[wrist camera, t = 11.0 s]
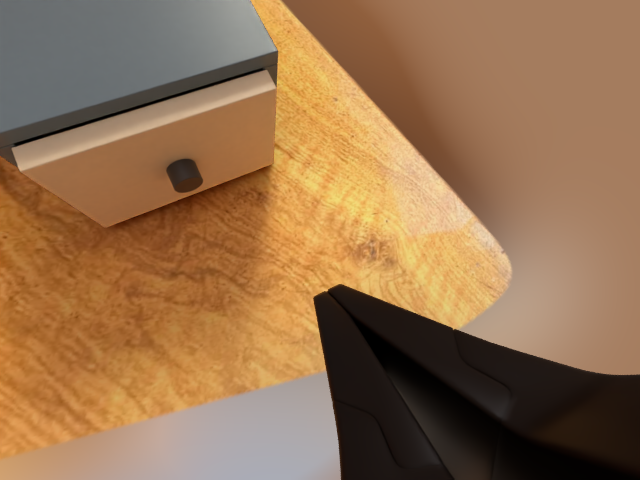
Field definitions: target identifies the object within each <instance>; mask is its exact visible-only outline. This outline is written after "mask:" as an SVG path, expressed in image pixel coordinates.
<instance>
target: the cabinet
mask: <svg viewBox="0 0 640 480" xmlns="http://www.w3.org/2000/svg"><path fill="white" fill-rule="evenodd" d="M277 63H278V50H277V48H276V46H275V45H274V43H273V41H272V39H271V37H270V35H269V34H268V32H267V30H266V28H265V26H264V24H263V23H262V21H261V19H260V17H259V15H258V14H257V12H256V10H255V8H254V6H253V4H252V3H251V1H250V0H0V156H1V157H3V158H4V159H6V160H7V161H9V162H10V163H12V164H13V165H15V166H16V167H18V165H17V163H16V160H15V157H14V154H13V152H12V147H16V146H19V145H22V144H25V143H29V142H32V141H35V140H38V139H42V138H44V137H43V136H42V135H43V134H46V133H50V132H53V131H56V130H60V129H63V128H66V127H69V126H73V125H76V124H79V123H83V122H86V121H89V120H92V119H96V118H99V117H102V116H106V115H109V114H112V113H115V112H119V111H122V110H125V109H129V108H132V107H135V106H138V105H142V104H145V103H148V102H152V101H155V100H158V99H161V98H165V97H168V96H171V95H175V94H178V93H181V92H184V91H188V90H191V89H194V88H198V87H201V86H204V85H207V84H211V83H214V82H217V81H221V80H224V79H227V78H230V77H234V76H237V75H240V74H244V76H247V75H250V74H254V73H257V72H260V71H263V70H267V71H268V73H269V75H270V77H271V79H272V80H273V82H274V84H275V86H276V87H277Z"/></svg>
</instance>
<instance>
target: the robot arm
mask: <svg viewBox="0 0 640 480" xmlns="http://www.w3.org/2000/svg"><path fill="white" fill-rule="evenodd" d="M313 299H314V305H315V311H316V316H317V321H318V327H319V332H320V338H321V343H322V349H323V354H324V360H325V365H326V370H327V376H328V381H329V387H330V392H331V398H332V401H333V409H334V414H335V421H336V427H337V434H338V441H339V454H340V468H341V480H640V375H609V374H601V373H595V372H590V371H585V370H581V369H577V368H574V367H570V366H567V365H564V364H560V363H557V362H553V361H550V360H546V359H543V358H540V357H536V356H533V355H529V354H526V353H523V352H519V351H516V350H513V349H509V348H507V347H504V346H500V345H497V344H494V343H491V342H488V341H486V340H483V339H480V338H477V337H475V336H472V335H469V334H467V333H464V332H461V331H459V330H457V329H454V330H453V328H451V327H449V326H446V325H444V324H441V323H438V322H436V321H433V320H431V319H428V318H426V317H423V316H421V315H418V314H416V313H413V312H411V311H408V310H405V309H403V308H400V307H398V306H395V305H393V304H390V303H388V302H385V301H383V300H380V299H378V298H375V297H373V296H370V295H367V294H365V293H362V292H360V291H357V290H355V289H352V288H350V287H347V286H345V285H342V284H338V285H336V286H334V287H332V288H330V289H329V290H328V291H327V292H326V291H324V292H322V293H320V294H318V295H316V296H315V297H314V298H313Z"/></svg>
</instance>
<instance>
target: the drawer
mask: <svg viewBox="0 0 640 480" xmlns="http://www.w3.org/2000/svg"><path fill="white" fill-rule="evenodd" d="M276 94H277V88H276V86H275V84H274V82H273V80H272V79H271V77H270V75H269V73H268V71H267V70H263V71H260V72H257V73H254V74H250V75H247V76H244V74H240V75H237V76H234V77H230V78H227V79H224V80H221V81H217V82H214V83H211V84H207V85H204V86H201V87H198V88H194V89H191V90H188V91H184V92H181V93H178V94H175V95H171V96H168V97H165V98H161V99H158V100H155V101H152V102H148V103H145V104H142V105H138V106H135V107H132V108H129V109H125V110H122V111H119V112H115V113H112V114H109V115H106V116H102V117H99V118H96V119H92V120H89V121H86V122H83V123H79V124H76V125H73V126H69V127H66V128H63V129H60V130H56V131H53V132H50V133H46V134H43V135H42V136H43V137H44V138H42V139H38V140H35V141H32V142H29V143H25V144H22V145H19V146H16V147H12V152H13V154H14V157H15V160H16V163H17V165H18V168H19V171H20V172H21V173H23V174H24V175H26V176H27V177H29V178H30V179H32V180H33V181H35V182H36V183H38V184H39V185H41V186H42V187H44V188H45V189H47V190H48V191H50V192H51V193H53V194H54V195H56V196H57V197H59V198H60V199H62V200H64V201H65V202H67V203H68V204H70V205H71V206H73V207H74V208H76V209H77V210H79V211H80V212H82V213H83V214H85V215H86V216H88V217H89V218H91V219H92V220H94V221H95V222H97V223H98V224H100V225H102V226H103V227H105V228H106V227H109V226H112V225H114V224H117V223H120V222H122V221H125V220H127V219H130V218H133V217H135V216H138V215H140V214H143V213H146V212H148V211H151V210H154V209H156V208H159V207H161V206H164V205H167V204H169V203H172V202H174V201H177V200H180V199H182V198H185V197H188V196H190V195H193V194H195V193H198V192H201V191H203V190H206V189H208V188H211V187H214V186H216V185H219V184H222V183H224V182H227V181H229V180H232V179H235V178H237V177H240V176H242V175H245V174H248V173H250V172H253V171H255V170H258V169H261V168H263V167H266V166H269V165H271V164H273V160H274V138H275V116H276Z"/></svg>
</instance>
